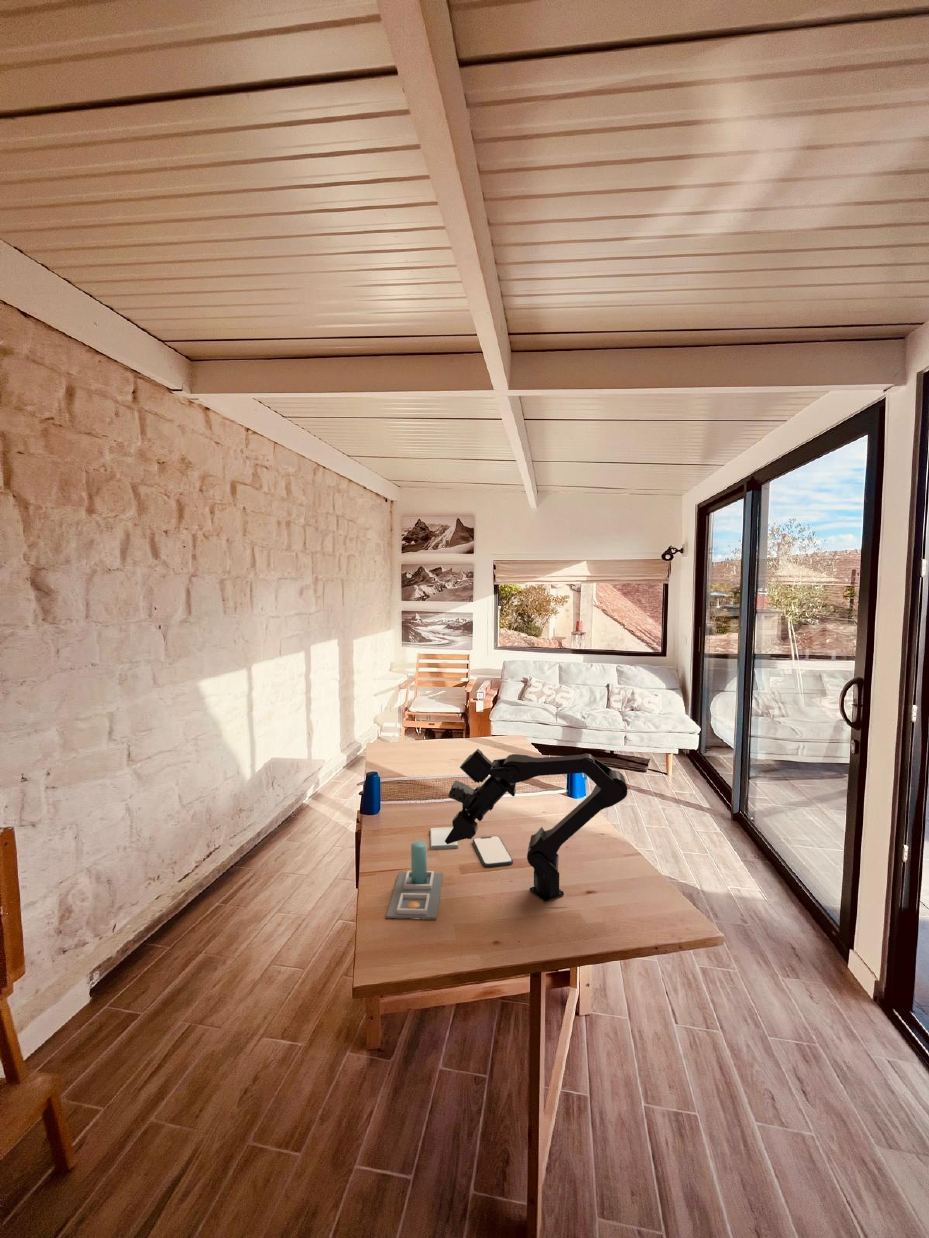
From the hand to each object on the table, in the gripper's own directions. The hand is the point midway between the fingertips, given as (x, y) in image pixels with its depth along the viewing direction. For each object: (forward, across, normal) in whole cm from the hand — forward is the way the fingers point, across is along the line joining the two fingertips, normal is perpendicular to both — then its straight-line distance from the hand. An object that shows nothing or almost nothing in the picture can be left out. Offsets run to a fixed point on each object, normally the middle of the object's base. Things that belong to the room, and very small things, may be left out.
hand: (450, 834), depth 148 cm
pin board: (+15, +7, +3) cm, 17 cm away
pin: (+15, +2, +2) cm, 15 cm away
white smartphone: (+5, -18, +16) cm, 25 cm away
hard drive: (+16, -24, +4) cm, 29 cm away
